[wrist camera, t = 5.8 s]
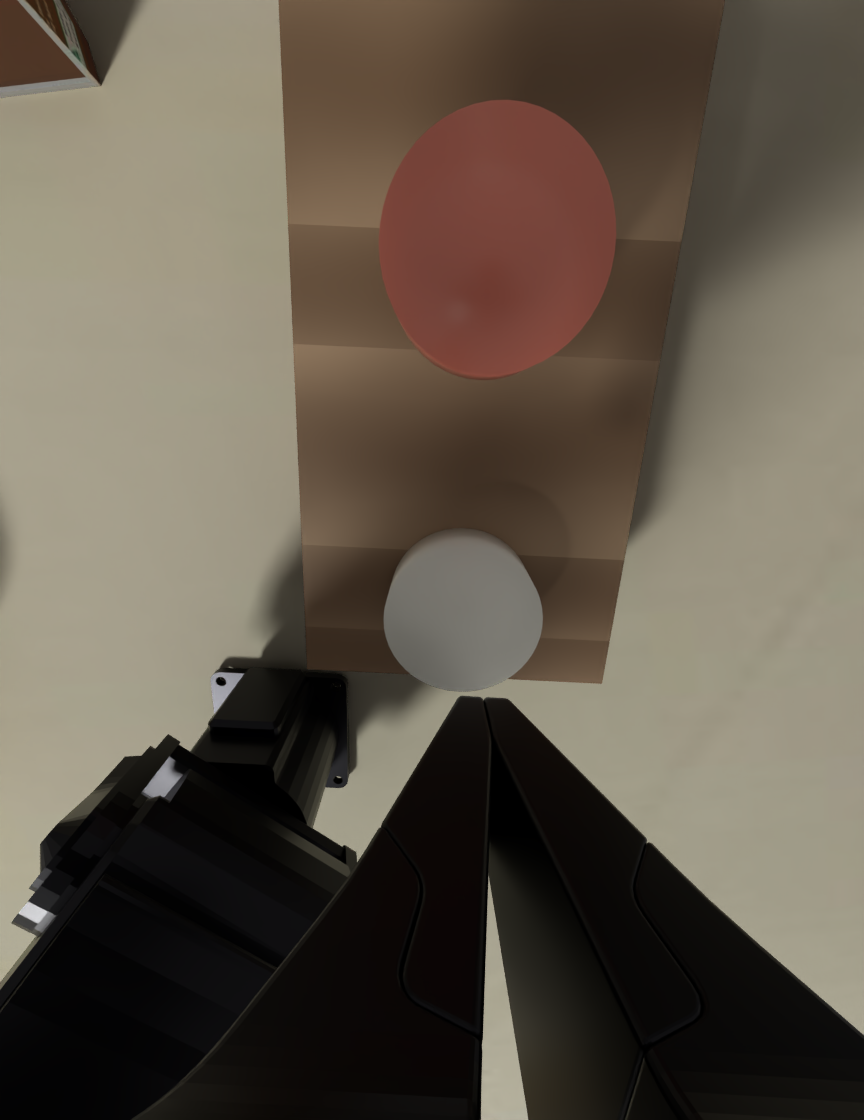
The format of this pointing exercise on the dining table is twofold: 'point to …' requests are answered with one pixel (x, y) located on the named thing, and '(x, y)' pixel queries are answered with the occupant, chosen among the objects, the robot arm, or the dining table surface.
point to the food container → (42, 49)
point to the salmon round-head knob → (496, 238)
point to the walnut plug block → (428, 391)
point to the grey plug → (462, 611)
